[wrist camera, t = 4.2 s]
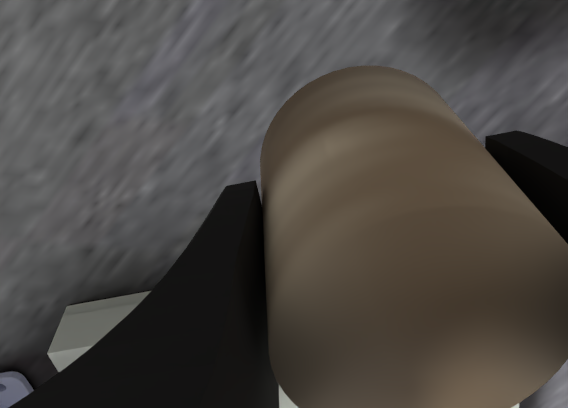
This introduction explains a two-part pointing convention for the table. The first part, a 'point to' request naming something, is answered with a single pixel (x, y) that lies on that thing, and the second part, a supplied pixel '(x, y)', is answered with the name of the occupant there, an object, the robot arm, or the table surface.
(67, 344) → the tray
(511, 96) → the table surface
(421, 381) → the beige rounded cylinder
